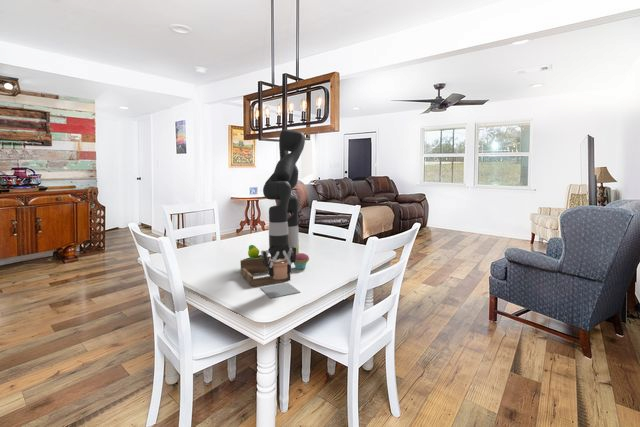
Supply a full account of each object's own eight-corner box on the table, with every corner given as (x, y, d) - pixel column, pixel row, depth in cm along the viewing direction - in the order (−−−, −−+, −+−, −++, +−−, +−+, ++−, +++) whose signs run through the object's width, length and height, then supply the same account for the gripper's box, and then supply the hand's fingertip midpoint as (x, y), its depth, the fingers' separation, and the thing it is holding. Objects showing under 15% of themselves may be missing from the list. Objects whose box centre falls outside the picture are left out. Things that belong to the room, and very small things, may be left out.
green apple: (252, 272, 155) (251, 249, 154) (241, 269, 161) (240, 246, 160) (271, 267, 164) (270, 244, 162) (260, 264, 170) (259, 242, 168)
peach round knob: (269, 276, 133) (268, 261, 132) (284, 273, 136) (284, 258, 135) (274, 280, 127) (274, 265, 126) (290, 278, 130) (290, 262, 129)
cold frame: (241, 275, 152) (240, 260, 151) (276, 269, 159) (276, 255, 158) (251, 286, 137) (251, 270, 136) (290, 280, 145) (290, 264, 144)
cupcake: (288, 269, 160) (288, 244, 159) (296, 264, 168) (295, 241, 166) (305, 271, 157) (304, 246, 155) (312, 266, 165) (311, 242, 163)
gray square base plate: (260, 288, 135) (260, 287, 135) (288, 283, 140) (288, 282, 140) (270, 298, 124) (270, 297, 124) (300, 292, 130) (300, 291, 130)
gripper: (291, 229, 136) (292, 269, 138) (257, 233, 129) (259, 275, 131) (299, 232, 129) (300, 274, 131) (263, 236, 123) (265, 280, 125)
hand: (279, 274), depth 131 cm, fingers closed on peach round knob, 6 cm apart
